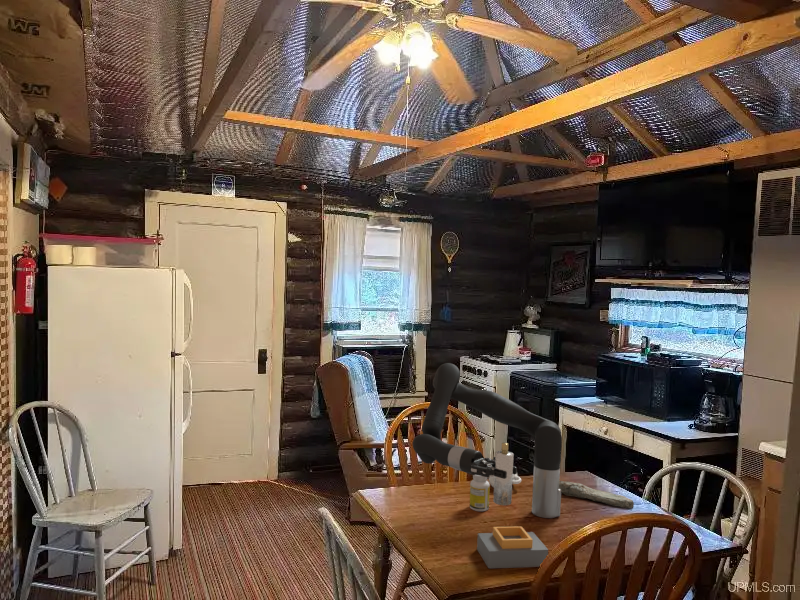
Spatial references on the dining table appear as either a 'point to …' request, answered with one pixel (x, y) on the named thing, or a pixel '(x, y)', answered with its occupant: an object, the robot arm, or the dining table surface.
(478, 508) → the supplement bottle
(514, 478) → the mug
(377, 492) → the dining table surface
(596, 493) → the elongated rock
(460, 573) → the dining table surface
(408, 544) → the dining table surface
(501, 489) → the gold capped bottle
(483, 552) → the grey base with frame
